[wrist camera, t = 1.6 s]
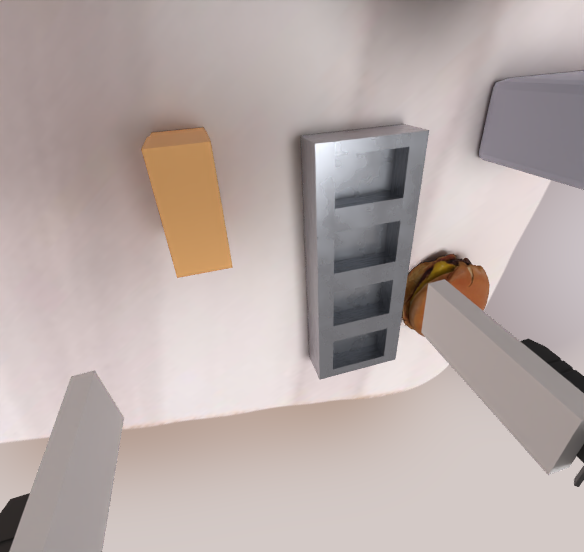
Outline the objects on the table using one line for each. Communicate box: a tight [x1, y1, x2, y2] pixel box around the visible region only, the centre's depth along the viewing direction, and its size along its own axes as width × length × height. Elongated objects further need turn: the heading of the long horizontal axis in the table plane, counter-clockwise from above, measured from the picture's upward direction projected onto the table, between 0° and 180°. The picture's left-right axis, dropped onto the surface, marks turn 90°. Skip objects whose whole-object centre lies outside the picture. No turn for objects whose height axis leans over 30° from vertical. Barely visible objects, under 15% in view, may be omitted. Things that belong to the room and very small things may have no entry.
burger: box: [402, 254, 489, 337], centre depth 38 cm, size 10×9×5 cm
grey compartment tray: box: [301, 124, 429, 379], centre depth 32 cm, size 24×9×4 cm, turn 4°
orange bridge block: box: [141, 127, 233, 278], centre depth 23 cm, size 8×4×7 cm, turn 4°
